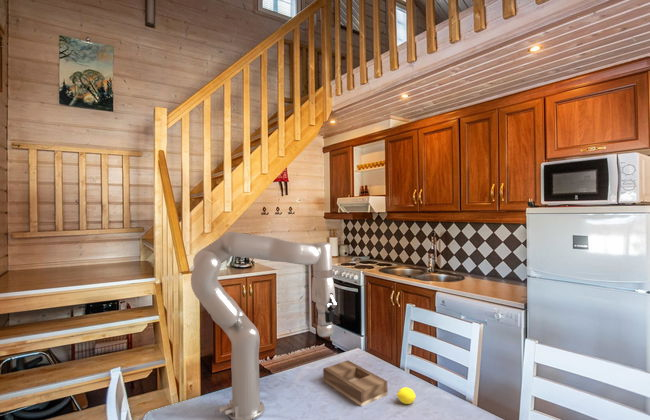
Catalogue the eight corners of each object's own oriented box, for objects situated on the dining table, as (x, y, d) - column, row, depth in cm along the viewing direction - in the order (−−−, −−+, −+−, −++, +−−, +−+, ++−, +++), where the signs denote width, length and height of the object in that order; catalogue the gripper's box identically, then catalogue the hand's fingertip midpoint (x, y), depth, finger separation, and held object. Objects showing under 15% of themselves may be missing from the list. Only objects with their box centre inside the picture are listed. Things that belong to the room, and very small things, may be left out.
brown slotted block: (361, 406, 127) (361, 391, 127) (323, 380, 146) (323, 368, 146) (387, 394, 134) (387, 381, 134) (348, 372, 154) (348, 360, 154)
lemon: (412, 399, 131) (414, 385, 131) (417, 407, 126) (418, 392, 126) (394, 398, 131) (395, 383, 131) (397, 406, 125) (399, 391, 126)
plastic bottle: (334, 333, 142) (332, 283, 142) (333, 339, 135) (330, 287, 135) (318, 333, 142) (316, 283, 142) (316, 339, 135) (314, 287, 136)
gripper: (303, 272, 143) (305, 317, 143) (328, 278, 129) (330, 327, 129) (318, 270, 148) (320, 313, 148) (344, 275, 134) (346, 323, 134)
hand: (324, 319), depth 139 cm, fingers closed on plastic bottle, 5 cm apart
